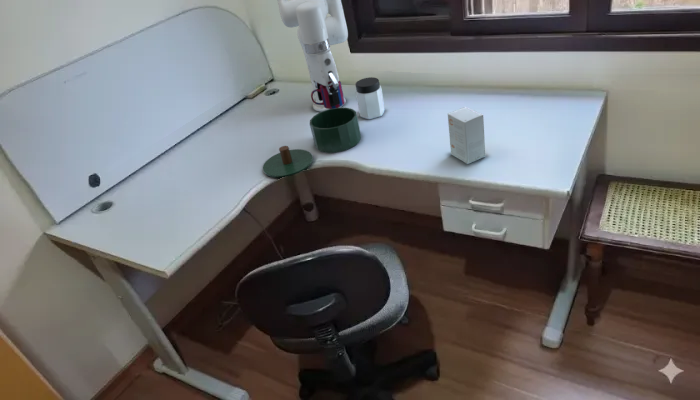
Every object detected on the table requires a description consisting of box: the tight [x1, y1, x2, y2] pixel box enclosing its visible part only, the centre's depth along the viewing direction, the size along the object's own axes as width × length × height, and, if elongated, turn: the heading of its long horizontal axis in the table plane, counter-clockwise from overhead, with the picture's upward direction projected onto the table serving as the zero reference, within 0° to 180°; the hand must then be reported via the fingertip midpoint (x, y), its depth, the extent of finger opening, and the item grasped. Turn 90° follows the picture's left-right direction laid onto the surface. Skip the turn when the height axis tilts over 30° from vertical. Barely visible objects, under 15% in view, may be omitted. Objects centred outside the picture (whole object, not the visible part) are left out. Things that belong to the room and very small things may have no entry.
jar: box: [355, 76, 386, 120], centre depth 180 cm, size 9×8×12 cm
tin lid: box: [262, 145, 314, 178], centre depth 161 cm, size 16×16×6 cm
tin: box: [309, 107, 362, 154], centre depth 168 cm, size 15×15×8 cm
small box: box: [447, 106, 486, 165], centre depth 144 cm, size 8×6×13 cm
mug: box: [310, 80, 346, 109], centre depth 162 cm, size 7×10×7 cm
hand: (329, 101), depth 163 cm, fingers closed on mug, 6 cm apart
